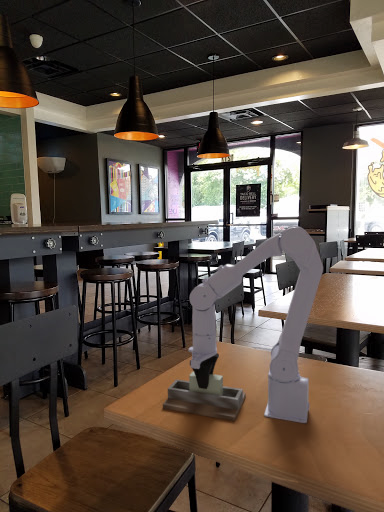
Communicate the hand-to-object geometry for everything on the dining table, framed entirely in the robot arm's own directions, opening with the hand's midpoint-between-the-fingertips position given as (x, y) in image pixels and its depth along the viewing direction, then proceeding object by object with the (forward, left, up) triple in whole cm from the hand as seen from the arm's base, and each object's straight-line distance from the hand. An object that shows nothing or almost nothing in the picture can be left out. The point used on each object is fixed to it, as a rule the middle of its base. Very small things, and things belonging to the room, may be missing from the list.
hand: (205, 385), depth 93 cm
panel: (0, 0, -3) cm, 4 cm away
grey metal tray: (0, 0, -4) cm, 4 cm away
